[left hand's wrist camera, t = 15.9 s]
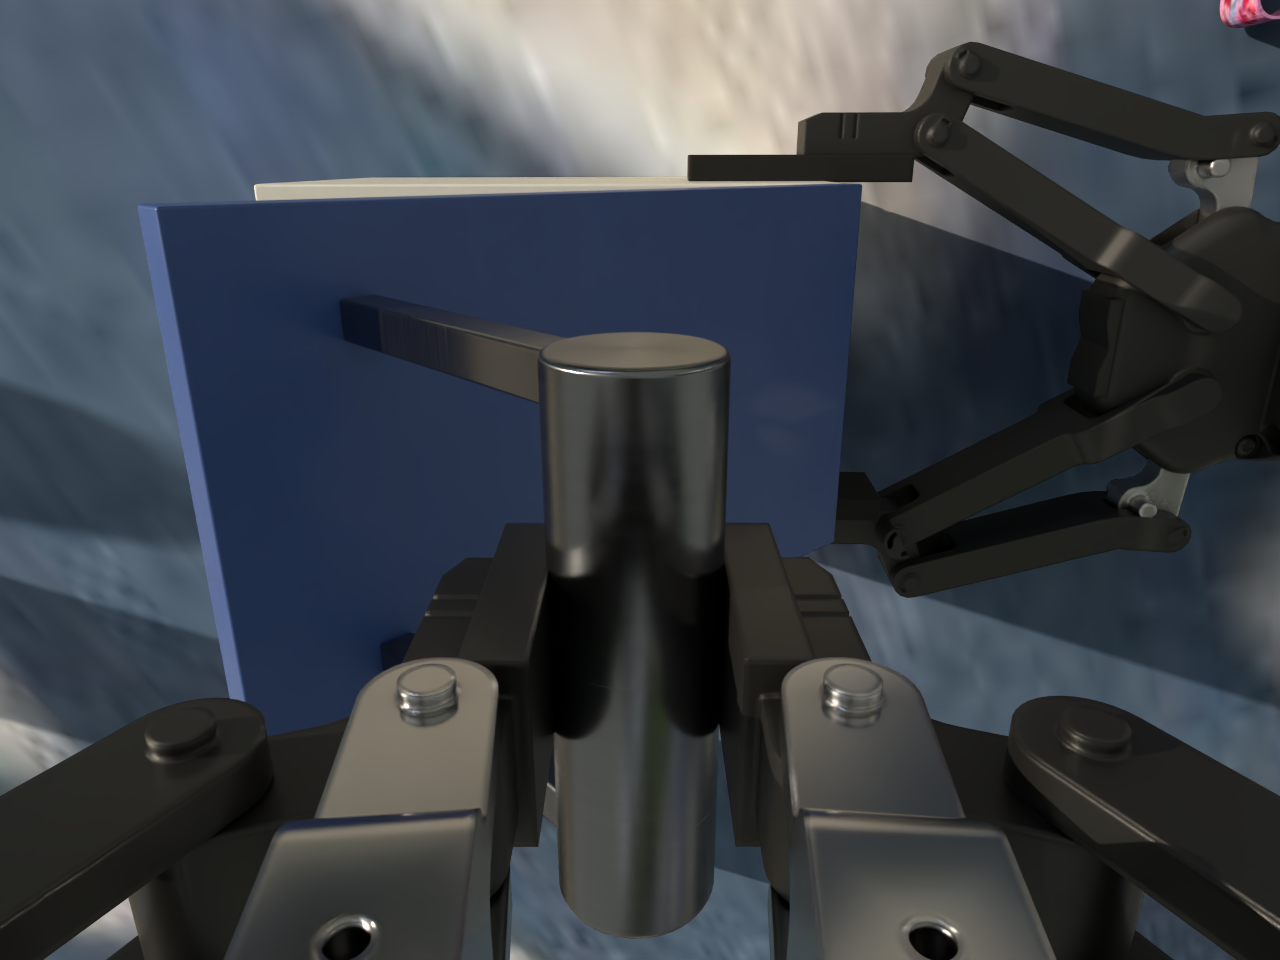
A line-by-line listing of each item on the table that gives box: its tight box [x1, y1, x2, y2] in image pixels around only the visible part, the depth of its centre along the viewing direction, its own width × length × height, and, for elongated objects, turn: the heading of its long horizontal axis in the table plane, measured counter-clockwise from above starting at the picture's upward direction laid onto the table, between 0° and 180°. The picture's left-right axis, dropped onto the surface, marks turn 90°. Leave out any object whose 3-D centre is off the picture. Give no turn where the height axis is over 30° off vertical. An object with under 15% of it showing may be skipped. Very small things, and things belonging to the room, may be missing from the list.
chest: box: [254, 177, 841, 201], centre depth 30 cm, size 16×10×10 cm, turn 90°
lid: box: [138, 184, 862, 939], centre depth 17 cm, size 17×10×9 cm
